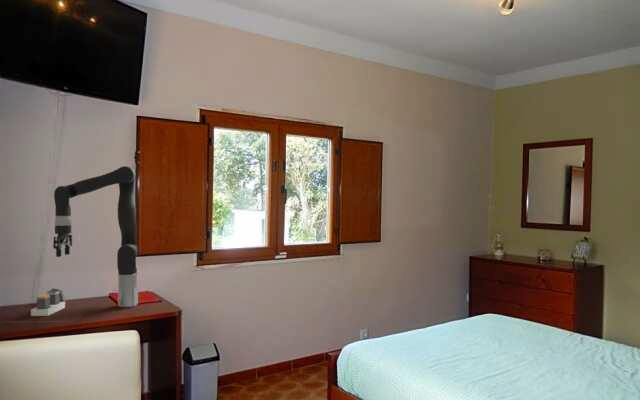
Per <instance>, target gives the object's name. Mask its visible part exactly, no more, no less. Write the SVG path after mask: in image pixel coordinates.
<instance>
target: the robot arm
mask: <svg viewBox="0 0 640 400" xmlns="http://www.w3.org/2000/svg"><path fill="white" fill-rule="evenodd" d="M135 179H136V172H135V171H134V169H132V168H131V167H130V166H127V165H125V166H121V167H119V168H117V169H115V170H112V171H110V172H107V173H105V174H102V175H101V174H100V175H98V176H94V177H90V178H86V179H84V180H79V181H76V182H74V183H72V184H67V185H64V186H63V185H60V186H57V187H56V188H55V189H54V193H53V199H54V205H55V213H54V214H55V218H54V234H55V235H57V236H54V237H53V245H52V246H53V247H52V248H53V249H55V252H56V253H55V255H56V256H55V257H58V258H60V257H62V248H63V246H64V255H65V256H69V255H70V254H71V252H70V251H71V249H70V248H71V247H72V246H73V235H72V234H71V233H72V208H71V207H72V206H71V205H70V199H71V198H75V197H78V196H81V195H85V194H89V193H92V192H95V191H98V190H100V189H102V188H103V189H104V188H105V187H108V186H112V185H117V184H118V188H119V189H118V190H119V194H118V195H119V196H118V201H117V221H118V226H119V230H120V233H121V241H120V247H119V248H118V249H117V255H116V257H117V258H116V260H117V261H116V263H117V270H118V272H117V274H118V276H117V277H118V278H117V280H118V283H117V284H118V286H117V300H118V301H117V304H118V305H117V306H118V307H119V308H132V307H135V306H137V305H138V304H139V287H138V286H137V285H138V278H137V277H138V275H137V273H138V269H137V256H138V253H139V250H138V243H137V235H136V233H137V207H136V206H137V205H136V197H135Z"/></svg>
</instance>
